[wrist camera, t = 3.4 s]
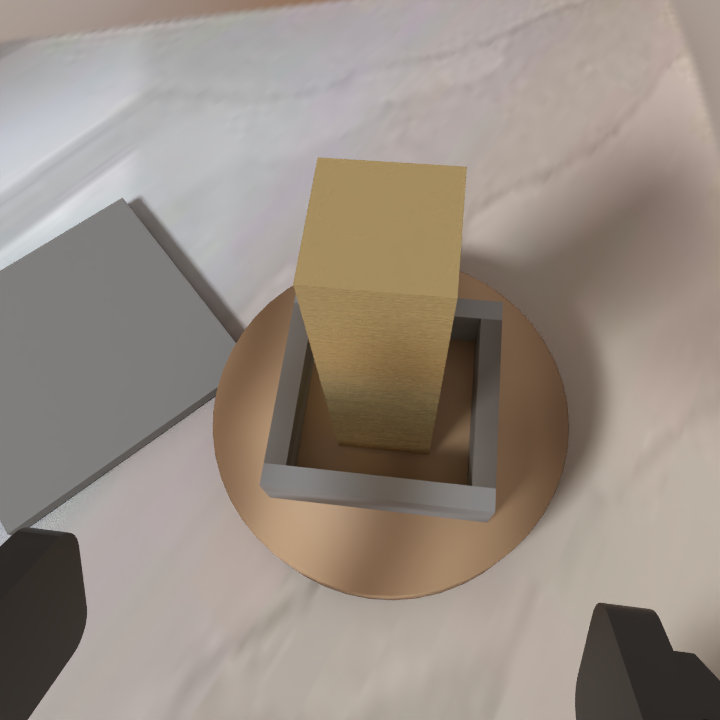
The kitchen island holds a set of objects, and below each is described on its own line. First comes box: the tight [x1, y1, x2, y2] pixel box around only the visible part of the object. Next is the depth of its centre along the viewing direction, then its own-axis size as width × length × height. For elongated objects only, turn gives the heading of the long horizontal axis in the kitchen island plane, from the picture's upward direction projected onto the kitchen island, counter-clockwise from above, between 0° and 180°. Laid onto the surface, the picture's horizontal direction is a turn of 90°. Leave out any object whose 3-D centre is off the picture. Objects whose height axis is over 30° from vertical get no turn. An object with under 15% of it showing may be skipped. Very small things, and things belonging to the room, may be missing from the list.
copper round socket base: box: [213, 271, 569, 600], centre depth 25 cm, size 14×14×4 cm
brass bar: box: [293, 158, 467, 455], centre depth 20 cm, size 4×4×12 cm
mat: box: [0, 198, 236, 535], centre depth 29 cm, size 12×12×1 cm
